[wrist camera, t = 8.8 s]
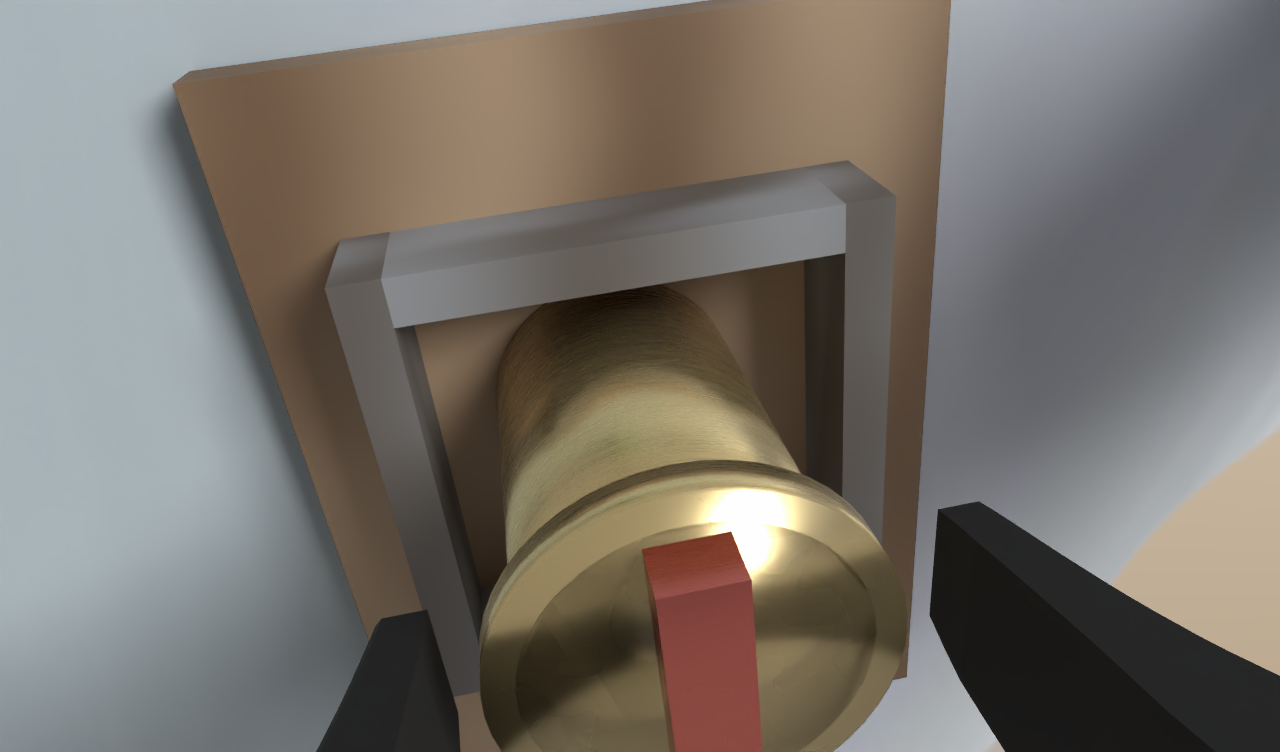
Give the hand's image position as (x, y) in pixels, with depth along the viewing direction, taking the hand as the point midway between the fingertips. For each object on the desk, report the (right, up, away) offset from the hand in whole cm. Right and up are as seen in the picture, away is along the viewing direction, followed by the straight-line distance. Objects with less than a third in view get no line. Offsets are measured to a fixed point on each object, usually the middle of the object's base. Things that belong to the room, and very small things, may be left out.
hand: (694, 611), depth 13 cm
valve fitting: (-1, +3, +4) cm, 5 cm away
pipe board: (-1, +2, +6) cm, 6 cm away
